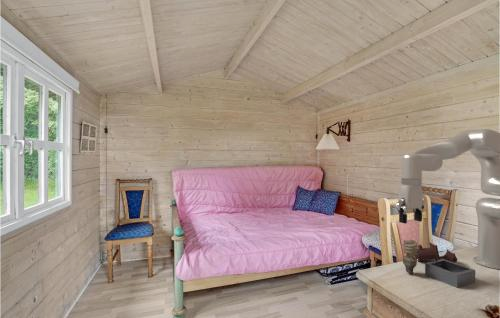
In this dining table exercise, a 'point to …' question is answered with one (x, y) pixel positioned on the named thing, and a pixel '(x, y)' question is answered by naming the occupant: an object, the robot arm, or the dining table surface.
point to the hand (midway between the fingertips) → (410, 221)
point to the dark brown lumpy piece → (434, 254)
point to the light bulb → (410, 255)
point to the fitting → (450, 273)
